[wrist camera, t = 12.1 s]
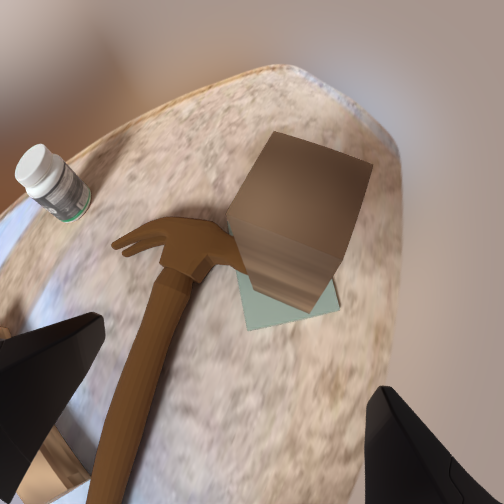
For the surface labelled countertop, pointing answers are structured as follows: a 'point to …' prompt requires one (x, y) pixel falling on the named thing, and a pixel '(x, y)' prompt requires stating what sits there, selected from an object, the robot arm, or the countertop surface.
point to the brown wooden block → (297, 217)
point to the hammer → (154, 338)
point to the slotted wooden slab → (50, 467)
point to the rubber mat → (278, 305)
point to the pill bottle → (53, 184)
